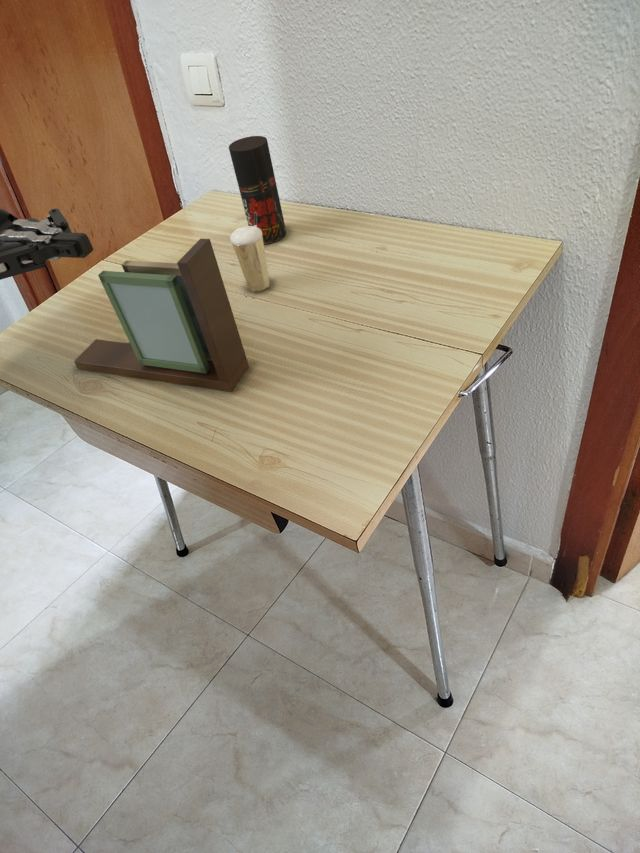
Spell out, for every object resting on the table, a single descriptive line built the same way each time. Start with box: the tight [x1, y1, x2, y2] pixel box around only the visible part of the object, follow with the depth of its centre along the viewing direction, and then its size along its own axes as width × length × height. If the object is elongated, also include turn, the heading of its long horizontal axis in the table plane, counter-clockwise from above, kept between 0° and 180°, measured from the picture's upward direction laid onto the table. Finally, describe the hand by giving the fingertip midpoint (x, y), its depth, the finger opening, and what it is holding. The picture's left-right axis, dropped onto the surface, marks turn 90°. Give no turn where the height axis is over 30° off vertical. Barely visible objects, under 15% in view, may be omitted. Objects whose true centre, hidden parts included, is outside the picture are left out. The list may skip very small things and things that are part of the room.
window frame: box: [73, 238, 250, 393], centre depth 71 cm, size 24×5×17 cm, turn 68°
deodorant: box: [228, 135, 287, 245], centre depth 94 cm, size 6×6×15 cm
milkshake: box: [229, 213, 270, 293], centre depth 85 cm, size 5×5×10 cm
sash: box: [97, 270, 210, 373], centre depth 69 cm, size 10×1×13 cm, turn 68°
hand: (86, 245), depth 64 cm, fingers closed
